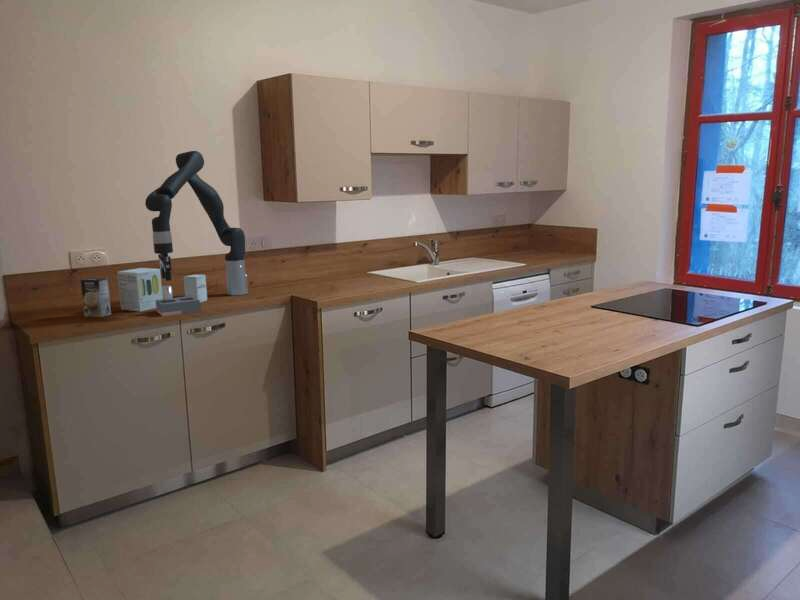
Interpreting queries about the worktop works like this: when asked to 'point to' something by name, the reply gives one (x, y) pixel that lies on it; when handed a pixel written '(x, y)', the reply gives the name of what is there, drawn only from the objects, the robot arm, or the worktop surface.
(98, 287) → the coffee box
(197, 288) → the supplement box
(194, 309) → the socket block
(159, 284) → the supplement box
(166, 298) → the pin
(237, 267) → the robot arm
